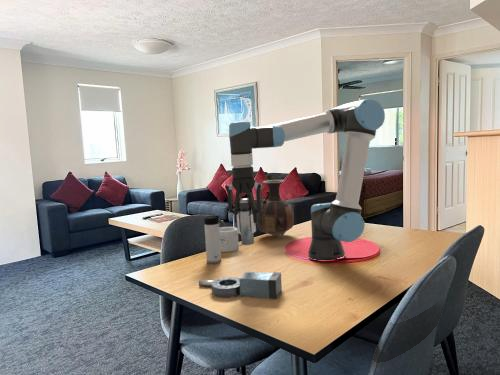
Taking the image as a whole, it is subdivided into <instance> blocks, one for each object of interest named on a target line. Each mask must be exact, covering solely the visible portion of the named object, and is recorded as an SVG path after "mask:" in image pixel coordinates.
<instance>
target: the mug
mask: <svg viewBox="0 0 500 375" xmlns="http://www.w3.org/2000/svg"><path fill="white" fill-rule="evenodd" d="M219 230H220V246H221V253H232V252H236V251H238V250H239V249H240V248H239V247H242V246H243V245H242V243H241V244H239V243H240V242H239V235H241V232H240V233H238V227H236V226H222V227H219Z"/></svg>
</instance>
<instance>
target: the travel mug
mask: <svg viewBox="0 0 500 375" xmlns="http://www.w3.org/2000/svg"><path fill="white" fill-rule="evenodd" d="M219 218H220V215H211V216H206V217H205V218H204V219H203V220H204V223H203V224H204V238H205V241H204V242H205V254H206V263H207V264H212V265H214V264H218V263H219V264H220V263H221V262H222V252H221V246H220V230H219V228H220V220H219Z"/></svg>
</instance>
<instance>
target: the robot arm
mask: <svg viewBox="0 0 500 375" xmlns="http://www.w3.org/2000/svg"><path fill="white" fill-rule="evenodd" d="M385 118H386V114H385V109H384V107H383V106H382V105H381V103H380V102H379V101H377V100H376V99H374V98H366V99H365V98H361V99H359V100H356V101H355V100H354V101H351V102H347V103H344V104H342V105H339V106H336V107H334V108H331V109H326V110H324V111H323V112H322V113H319V114H315V115H310V116H306V117H302V118H301V117H300V118H295V119H292V120H289V121H288V120H287V121H284V122H282V121H281V122H279V123H274V124H269V125H266V126H265V125H264V126H252V125H251V122H250V121H248V120H247V121H234V122H230V124H229V126H228V138H229V149H230V160H231V161H230V164H231V166H232V168H231V177H232V181H231V183H230V184H226V185H225V186H224V189H225V191H226V196H227V205H228V213H230V214H233V216H234V223H235V224H237V226H236V228H237V229H238V233H241V229H240V216H239V206H238V203H239V199H242V195H243V194H246V196H247V198H248V199H249V203H250V206H251V210H252V214H251V229H252V233H253V234H254V233H256V232H257V227H256V224H257V222H258V213H259V212H261V211H262V203H263V202H262V201H263V194H262V190H263V187H264V186H263V184H264V183H259V182H256V180H255V177H254V176H255V174H254V167H253V164H254V163H253V161H254V160H253V158H254V157H253V149H265V148H266V149H267V148H278V147H283V145H284V143H285V142H289V141H293V140H298V139H302V138H307V137H310V136H314V135H315V136H316V135H319V134H324V133H327V134H329V135H330V134H335V133H343V134H344V136H345V137H346V142H345V148H344V153H343V158H342V163H341V169H340V175H339V181H338V183H337V184H338V186H337V192H336V196H335V199H334V200H333V201H331V202H325V203H316V204H315V203H314V204H313V205H311V208H310V220H311V221H310V224H311V225H310V226H311V242H310V246H309V248H308V253H307V254H308V258H309V257H310V258H312V259H316V260H332V259H337V258H340V257H343V256H344V255H345V256H346V252H345V249H344V246H343V243H342V242H345V243H352V242H354V241H356V240H358V239H359V238H360V237H361V236H362V235H363V233H364V230H365V226H366V225H365V220H364V219H363V217H362V215H361V214H362V207H361V205H360V203H359V202H360V197H361V192H362V186H363V180H364V176H365V170H366V164H367V158H368V154H369V149H370V143H371V141H372V140H374V139H375V138H376V133H377V130H378V129H380V128H381V127H382V126H383V125H384V122H385ZM233 188H234V189H235V199H234V192H233ZM253 188H254V189H255V190H256V191H255V193H256V197H255V198H256V201H255V198H254V192H253ZM310 258H309V259H310Z"/></svg>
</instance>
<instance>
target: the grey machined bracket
mask: <svg viewBox="0 0 500 375" xmlns="http://www.w3.org/2000/svg"><path fill="white" fill-rule="evenodd" d="M198 286H200V287H211V293H212V296H215V297H217V298H223V299H224V298H235V297H246V298H256V299H257V298H258V299H259V298H260V299H271V300H277V299H278V298H279V296H280V294H281V293H282V291H283V289H282V272H280V271H279V272H275V271H274V272H265V271H264V272H263V271H247V270H245V272H243V274H242V275H241V276H240V277H239V276H224V277H219V278H216V279H214V280H208V279H207V280H206V279H200V280H199V281H198Z"/></svg>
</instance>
